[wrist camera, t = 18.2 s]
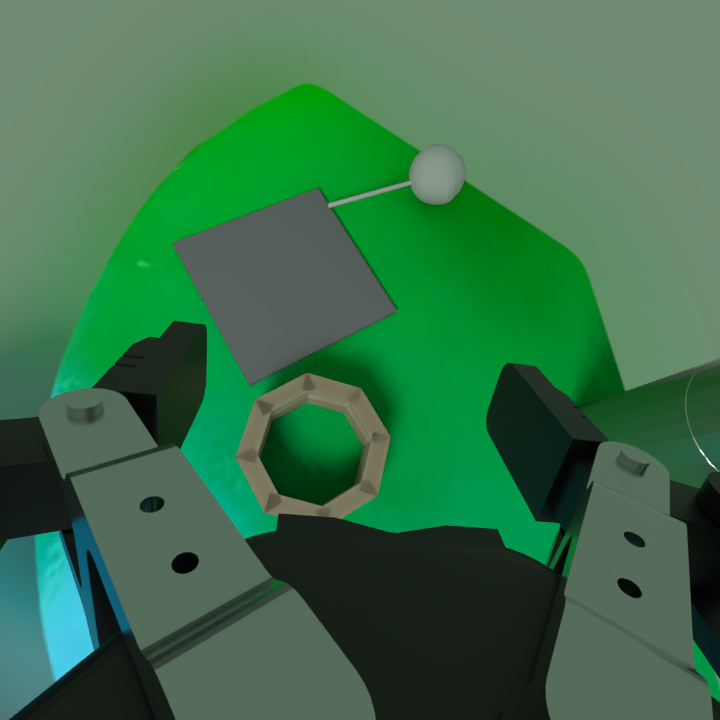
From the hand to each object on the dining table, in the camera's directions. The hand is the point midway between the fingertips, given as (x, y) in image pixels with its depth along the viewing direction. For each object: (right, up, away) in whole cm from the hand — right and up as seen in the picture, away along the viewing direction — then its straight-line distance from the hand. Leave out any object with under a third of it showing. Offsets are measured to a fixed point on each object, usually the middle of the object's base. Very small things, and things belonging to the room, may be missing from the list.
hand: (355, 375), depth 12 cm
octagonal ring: (-4, -8, +27) cm, 29 cm away
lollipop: (-3, +16, +35) cm, 38 cm away
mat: (-7, +8, +32) cm, 34 cm away
